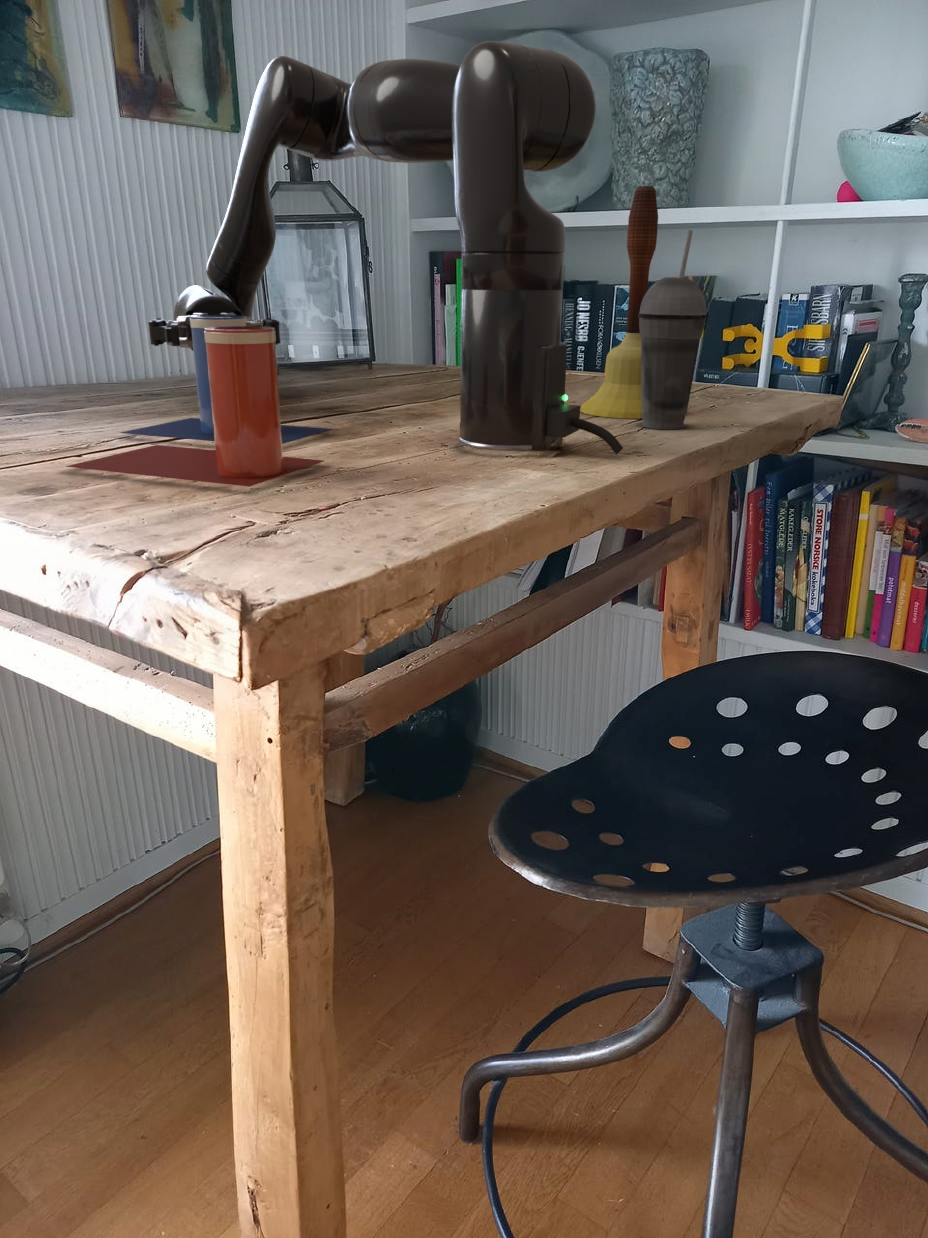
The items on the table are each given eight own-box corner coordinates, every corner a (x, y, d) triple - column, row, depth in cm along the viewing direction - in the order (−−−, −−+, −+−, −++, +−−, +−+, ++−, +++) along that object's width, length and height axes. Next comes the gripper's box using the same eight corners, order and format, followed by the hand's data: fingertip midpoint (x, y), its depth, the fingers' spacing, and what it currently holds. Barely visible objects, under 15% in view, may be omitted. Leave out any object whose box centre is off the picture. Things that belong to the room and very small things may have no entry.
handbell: (676, 420, 104) (698, 179, 95) (570, 415, 107) (582, 182, 98) (684, 407, 115) (704, 190, 106) (588, 402, 118) (599, 192, 109)
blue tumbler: (264, 428, 93) (256, 315, 89) (233, 436, 88) (223, 317, 84) (222, 424, 95) (212, 314, 91) (189, 432, 90) (177, 316, 86)
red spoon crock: (297, 468, 74) (288, 327, 70) (259, 480, 69) (248, 330, 65) (243, 462, 76) (232, 325, 72) (203, 474, 71) (188, 328, 67)
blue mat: (333, 434, 93) (333, 428, 93) (272, 452, 84) (272, 445, 83) (191, 423, 99) (191, 417, 99) (120, 438, 90) (119, 432, 90)
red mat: (325, 467, 77) (325, 460, 77) (249, 493, 68) (249, 485, 68) (157, 451, 84) (156, 444, 83) (66, 473, 74) (65, 465, 74)
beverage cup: (646, 419, 105) (661, 231, 98) (706, 425, 101) (726, 230, 94) (618, 426, 99) (631, 229, 92) (680, 433, 95) (699, 227, 88)
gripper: (150, 294, 109) (142, 298, 94) (271, 295, 112) (281, 298, 98) (157, 359, 111) (151, 372, 97) (275, 357, 115) (285, 370, 100)
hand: (216, 335), depth 97 cm, fingers open, 8 cm apart
